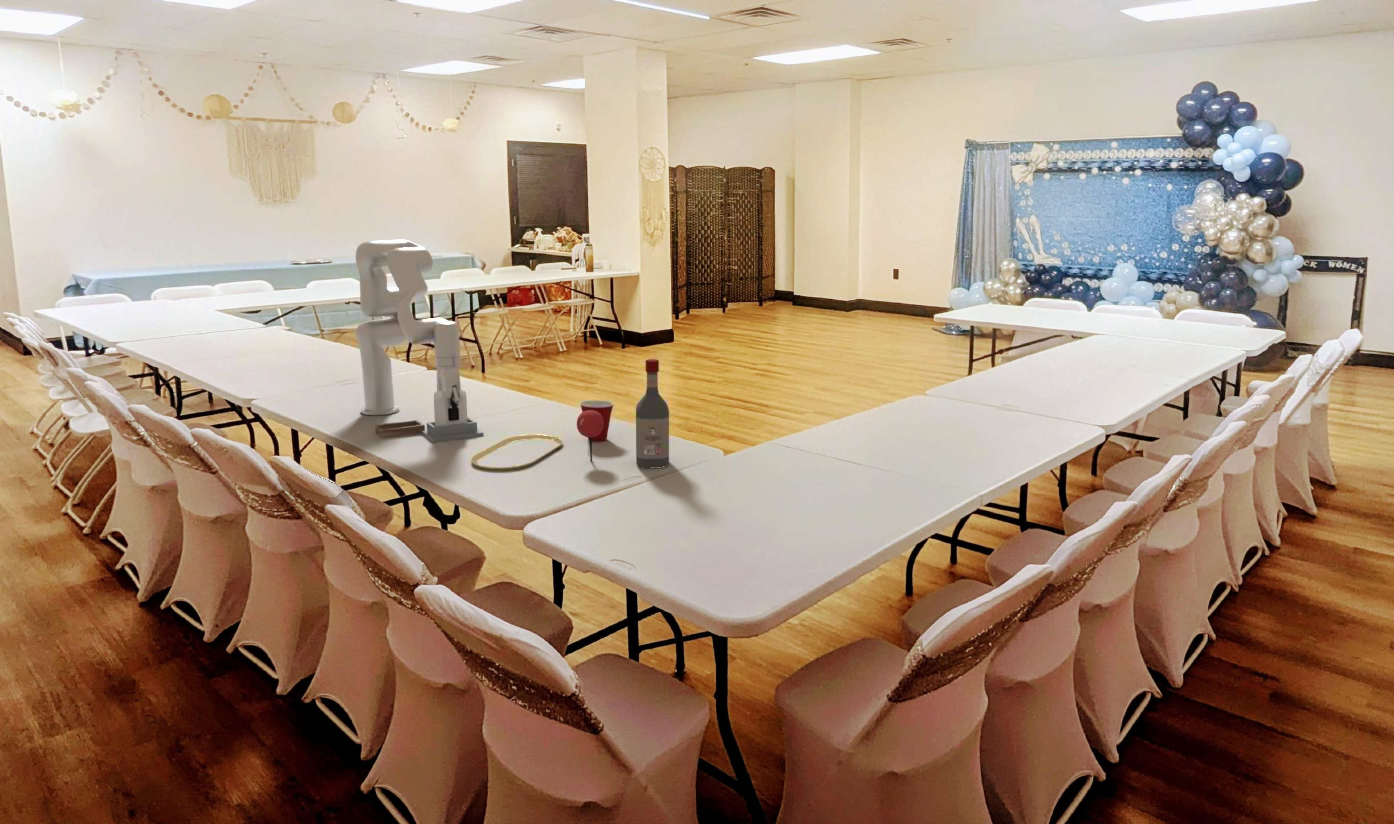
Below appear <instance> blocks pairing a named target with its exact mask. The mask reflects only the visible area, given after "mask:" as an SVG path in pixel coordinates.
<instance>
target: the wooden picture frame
mask: <svg viewBox="0 0 1394 824" xmlns="http://www.w3.org/2000/svg"><path fill="white" fill-rule="evenodd" d="M423 430H426V427H425V423H422V421H420V420H419V419H414V420H406V421H400V422H390V423H383V424H375V425H374V433H375V434H376V435H377V437H379V438H380V439H387V438H394V437H401V436H402V437H403V436H411V435H417V434H422V431H423Z"/></svg>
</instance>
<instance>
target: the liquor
mask: <svg viewBox="0 0 1394 824" xmlns="http://www.w3.org/2000/svg"><path fill="white" fill-rule="evenodd" d="M659 371H660V361H659V359H656V358H651V359H650V358H648V359H645V372H646V390H645V394H644V395H643V396H642V398H640V399H639V401H638V402H637V404H636V407H635V444H636V445H635V452H636V455H635V457H636V458H635V459H636V461H635V463H636V465H637V467H638V466H640V467H639V468H641V467H644V468H643V469H652V468H651V467H663V466H666V465H668V466H669V463H670V410H669V406H668V403H667V401H666V400H665V399H664V398H663V397H662V395H660V394H659V393H660V392H659V389H658V388H659V387H658V385H659V381H658V380H659V378H658V377H659V376H658V372H659ZM666 467H667V466H666ZM663 468H664V467H663Z"/></svg>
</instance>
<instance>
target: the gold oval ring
mask: <svg viewBox="0 0 1394 824" xmlns="http://www.w3.org/2000/svg"><path fill="white" fill-rule="evenodd" d="M532 438H540V439H539V440H542V439H548V440H547V441H549V440H553V441H554V442H553V441H552V442H553V443H555V442H556V443H555V444H557V443H558V444H559V445H557V446H556V447H554V448H552V449H550V450H549V451H548V452H546V453H544V454H543V455H541V456H539V457H537V458H536V459H534V460H532V461H531V462H528V463H524V464H520V465H515V466H503V467H502V466H500V467H499V466H497V467H496V466H485V465H480V464H478V461H480V460H481V459H484V457H483V456H485V457H486V455H487V456H489V455H490V453H491V452H492V453H494V452H496V451H497V449H498V448H500V447H502V448H503V446H504V447H505V446H507V445H509V444H511V443H510V442H512V441H515V440H520V441H522V440H521V439H528V440H533V439H532ZM515 442H516V441H515ZM508 443H509V444H508ZM512 443H513V442H512ZM506 444H507V445H506ZM563 444H564V443H563V439H562V438H560V437H557V436H555V435H550V434H521V435H515V436H510V437H508V438H505V439H503V440H500V441H499V442H497V443H495V444H493V445H491V446H490V447H488V448H486V449H484V450H482V451H480V452H478V453H476V454H475V455H473V456H471V458H470V459H471V463H472V464H473V465H474V466H475V467H477V468H479V469H482V470H487V471H497V470H503V471H513V470H512V469H514V470H519V469H518V468H520V469H523V467H524V468H526V466H527V467H530V466H532V465H534V464H535V463H537V462H538V461H540V460H541V458H542V459H543V458H545V457H546V455H547V456H548V455H550V454H552V453H553V452H555V451H557V450H558V449H559V448H561V446H562V445H563ZM500 449H501V448H500ZM495 450H496V451H495ZM498 450H499V449H498ZM493 451H494V452H493ZM492 453H491V454H492ZM488 454H489V455H488ZM480 458H481V459H480ZM479 459H480V460H479ZM477 460H478V461H477ZM531 464H532V465H531ZM529 465H530V466H529Z"/></svg>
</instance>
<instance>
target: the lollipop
mask: <svg viewBox="0 0 1394 824" xmlns="http://www.w3.org/2000/svg"><path fill="white" fill-rule="evenodd" d="M603 427H604V420H603V417H602V416H601V414H600V413H598V412H596V411H593V410H587V411H584V412H581V413H579V415H578V417H577V420H576V429H577V431H578V433H579V434H580V435H581V436H583V437H586V438H588V437H590V441H589V448H590V449H589V451H590V452H589V454H590V455H589V456H590V457H589V459H590V462H591V461H592V462H593V443H592V442H593V441H592V437H595V436H598V435H599V434H600V433H601V432H602V430H603Z"/></svg>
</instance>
